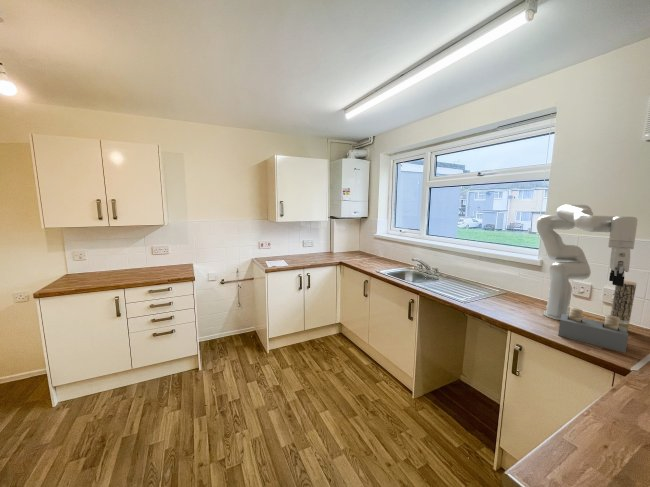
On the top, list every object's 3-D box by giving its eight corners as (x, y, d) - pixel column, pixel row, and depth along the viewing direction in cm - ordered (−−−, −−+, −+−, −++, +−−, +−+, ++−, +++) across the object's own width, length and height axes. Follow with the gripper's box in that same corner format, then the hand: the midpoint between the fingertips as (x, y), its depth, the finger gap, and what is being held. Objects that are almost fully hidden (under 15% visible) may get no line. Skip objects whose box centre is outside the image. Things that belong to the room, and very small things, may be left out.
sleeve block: (558, 335, 131) (560, 319, 130) (559, 328, 139) (561, 313, 138) (625, 352, 116) (628, 335, 115) (623, 343, 124) (626, 327, 123)
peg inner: (567, 323, 131) (569, 309, 130) (568, 321, 134) (570, 307, 133) (580, 326, 128) (582, 312, 127) (580, 323, 131) (582, 309, 130)
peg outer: (603, 332, 123) (605, 316, 122) (602, 329, 126) (605, 314, 125) (617, 335, 120) (620, 319, 119) (616, 332, 123) (619, 317, 122)
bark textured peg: (631, 332, 136) (640, 284, 132) (615, 331, 137) (624, 283, 133) (620, 326, 142) (628, 280, 139) (604, 325, 143) (612, 279, 140)
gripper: (638, 247, 109) (632, 288, 111) (629, 244, 122) (624, 281, 124) (611, 245, 114) (606, 285, 116) (606, 242, 127) (601, 278, 129)
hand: (615, 283), depth 120 cm, fingers open, 9 cm apart
